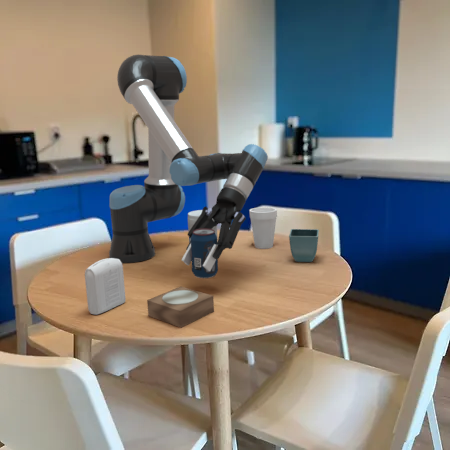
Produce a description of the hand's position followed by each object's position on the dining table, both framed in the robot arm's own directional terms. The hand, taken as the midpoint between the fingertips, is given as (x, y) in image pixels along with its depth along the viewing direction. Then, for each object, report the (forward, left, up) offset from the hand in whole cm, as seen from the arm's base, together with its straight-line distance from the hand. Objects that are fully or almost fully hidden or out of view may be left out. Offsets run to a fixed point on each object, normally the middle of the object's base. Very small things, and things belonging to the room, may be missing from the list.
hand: (195, 265), depth 125 cm
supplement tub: (-22, +26, -8) cm, 35 cm away
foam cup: (-12, +46, -8) cm, 49 cm away
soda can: (0, +3, -4) cm, 5 cm away
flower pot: (+8, +40, -8) cm, 42 cm away
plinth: (+6, -12, -8) cm, 15 cm away
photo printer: (-12, -20, -8) cm, 24 cm away
